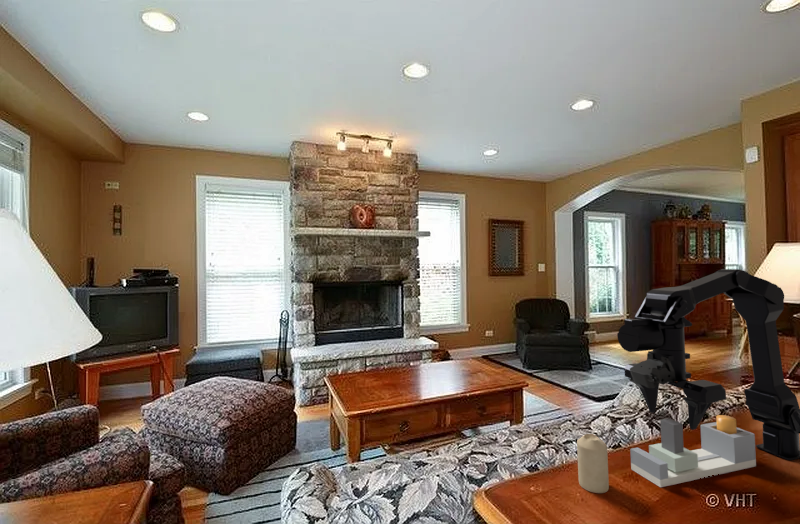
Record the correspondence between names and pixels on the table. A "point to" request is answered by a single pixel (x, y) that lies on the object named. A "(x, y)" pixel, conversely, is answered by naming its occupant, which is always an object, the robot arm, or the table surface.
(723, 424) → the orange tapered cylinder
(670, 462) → the carriage
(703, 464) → the rail
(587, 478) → the candle
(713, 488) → the table surface
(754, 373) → the robot arm
